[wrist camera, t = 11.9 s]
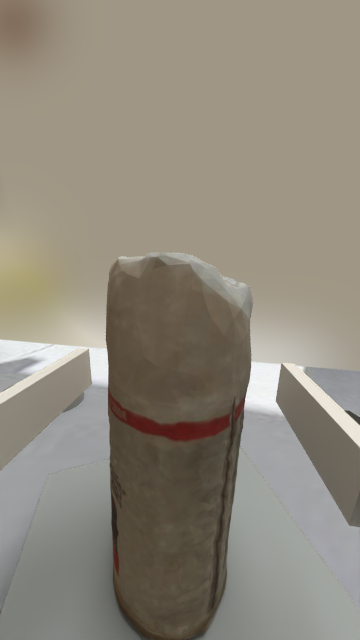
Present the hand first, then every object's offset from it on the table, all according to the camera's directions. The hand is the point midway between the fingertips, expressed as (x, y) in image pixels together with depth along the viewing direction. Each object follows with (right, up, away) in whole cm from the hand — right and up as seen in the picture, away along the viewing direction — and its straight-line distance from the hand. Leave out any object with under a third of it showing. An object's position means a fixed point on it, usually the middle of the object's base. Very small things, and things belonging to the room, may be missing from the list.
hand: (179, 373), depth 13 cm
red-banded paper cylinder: (-1, -13, +1) cm, 13 cm away
